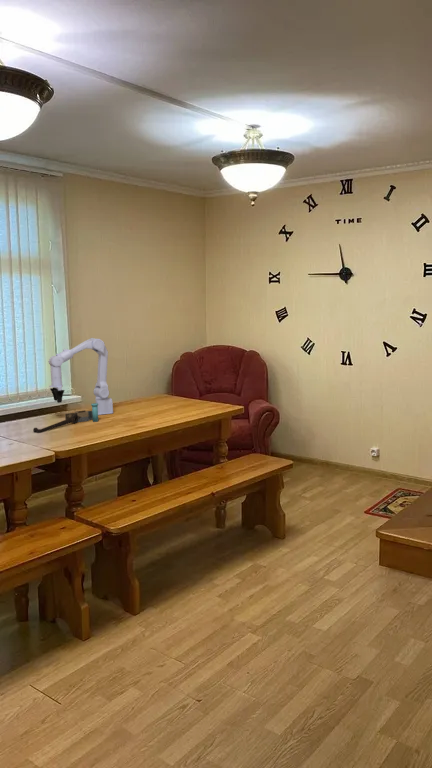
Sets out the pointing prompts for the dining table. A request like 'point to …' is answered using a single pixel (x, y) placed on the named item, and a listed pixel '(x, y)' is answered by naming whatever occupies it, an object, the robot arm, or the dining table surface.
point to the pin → (95, 411)
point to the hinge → (81, 415)
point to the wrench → (59, 424)
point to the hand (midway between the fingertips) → (58, 401)
